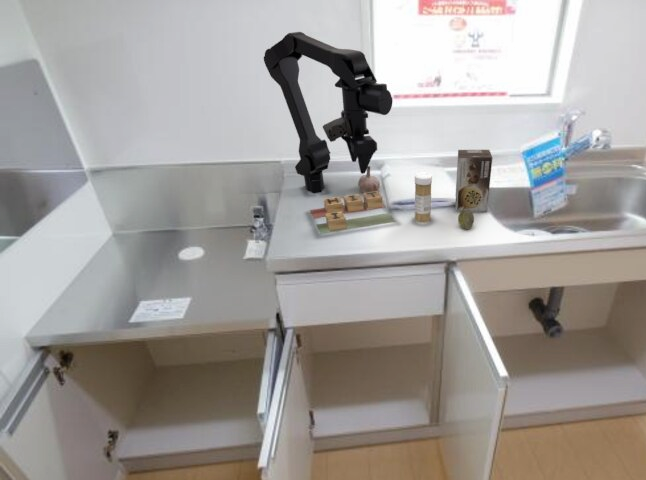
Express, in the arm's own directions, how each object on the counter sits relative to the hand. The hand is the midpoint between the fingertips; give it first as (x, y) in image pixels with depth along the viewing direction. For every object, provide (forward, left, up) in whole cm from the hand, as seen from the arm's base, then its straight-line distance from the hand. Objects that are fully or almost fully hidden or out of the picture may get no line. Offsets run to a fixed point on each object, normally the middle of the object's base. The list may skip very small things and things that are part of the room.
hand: (358, 167), depth 125 cm
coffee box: (+12, +30, -12) cm, 35 cm away
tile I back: (+3, -3, -11) cm, 11 cm away
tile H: (+3, -9, -11) cm, 14 cm away
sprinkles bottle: (+16, +13, -12) cm, 24 cm away
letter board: (+7, -5, -12) cm, 14 cm away
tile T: (+3, +3, -11) cm, 11 cm away
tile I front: (+12, -10, -11) cm, 19 cm away
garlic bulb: (-9, +5, -12) cm, 16 cm away
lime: (+23, +23, -12) cm, 35 cm away
